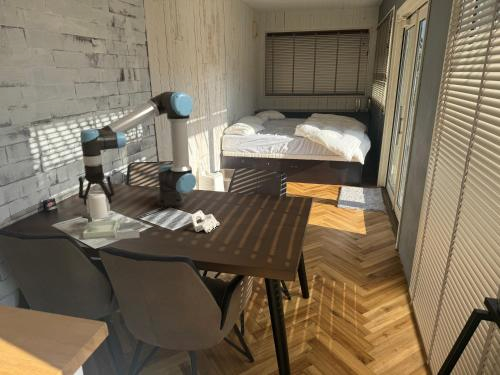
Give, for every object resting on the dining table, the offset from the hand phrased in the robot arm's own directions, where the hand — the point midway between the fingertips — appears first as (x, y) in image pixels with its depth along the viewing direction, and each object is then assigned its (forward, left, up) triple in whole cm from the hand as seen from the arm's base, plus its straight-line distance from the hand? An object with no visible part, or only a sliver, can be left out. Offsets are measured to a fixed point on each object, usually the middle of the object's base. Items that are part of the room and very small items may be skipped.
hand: (99, 210), depth 164 cm
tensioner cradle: (-13, +4, -11) cm, 18 cm away
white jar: (0, 0, -3) cm, 3 cm away
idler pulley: (+7, -10, -11) cm, 17 cm away
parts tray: (0, 0, -11) cm, 11 cm away
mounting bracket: (-50, +6, -11) cm, 51 cm away
